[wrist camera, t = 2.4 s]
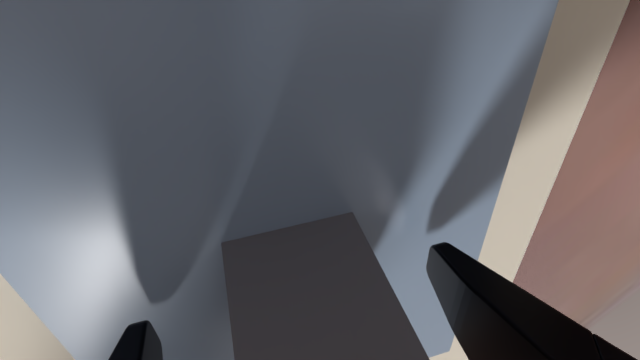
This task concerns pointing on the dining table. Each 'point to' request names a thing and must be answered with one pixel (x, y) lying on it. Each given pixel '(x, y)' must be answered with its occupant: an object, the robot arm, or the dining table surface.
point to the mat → (518, 183)
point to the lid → (254, 167)
